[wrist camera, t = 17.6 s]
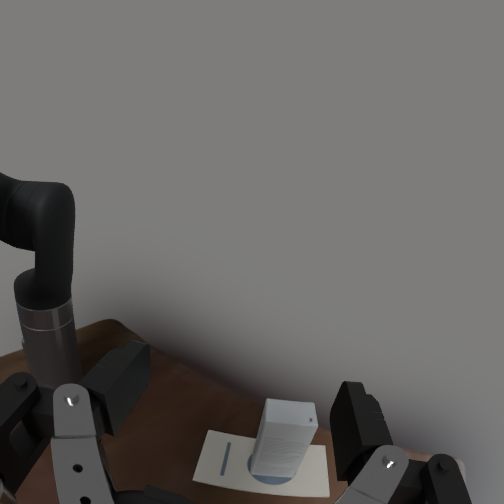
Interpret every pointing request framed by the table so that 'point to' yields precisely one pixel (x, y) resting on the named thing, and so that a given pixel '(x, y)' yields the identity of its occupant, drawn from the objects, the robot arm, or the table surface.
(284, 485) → the paper sheet
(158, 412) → the table surface
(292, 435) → the skincare box
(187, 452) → the table surface
